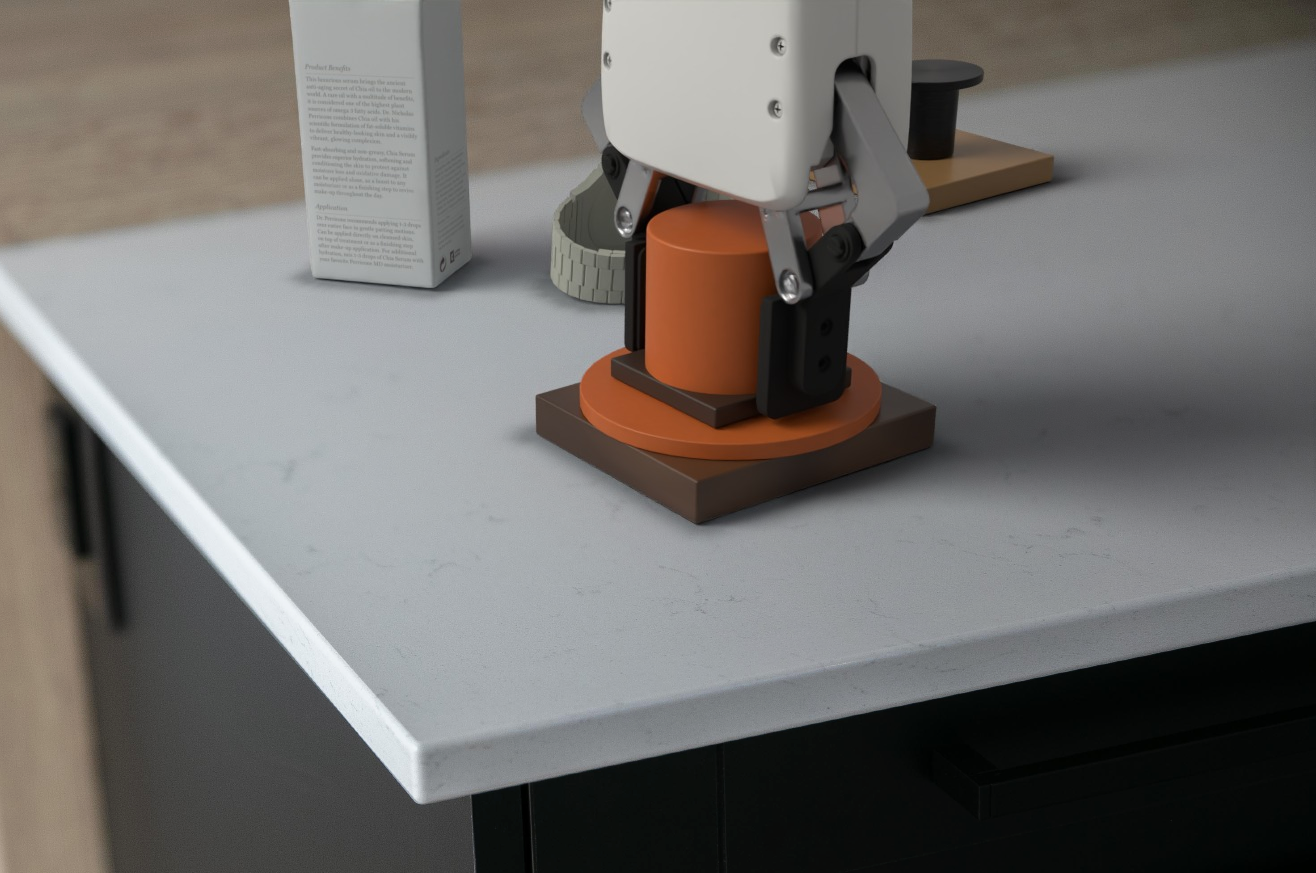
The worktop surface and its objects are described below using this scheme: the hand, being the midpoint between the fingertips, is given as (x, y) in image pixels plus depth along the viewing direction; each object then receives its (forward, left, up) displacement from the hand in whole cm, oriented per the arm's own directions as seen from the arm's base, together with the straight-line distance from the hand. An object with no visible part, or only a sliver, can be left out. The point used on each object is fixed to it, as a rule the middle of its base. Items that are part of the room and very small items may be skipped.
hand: (730, 370), depth 66 cm
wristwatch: (-8, -15, -3) cm, 17 cm away
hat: (0, 0, -1) cm, 1 cm away
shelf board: (0, 0, -3) cm, 3 cm away
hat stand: (-26, -18, -3) cm, 32 cm away
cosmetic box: (0, -23, -3) cm, 23 cm away
